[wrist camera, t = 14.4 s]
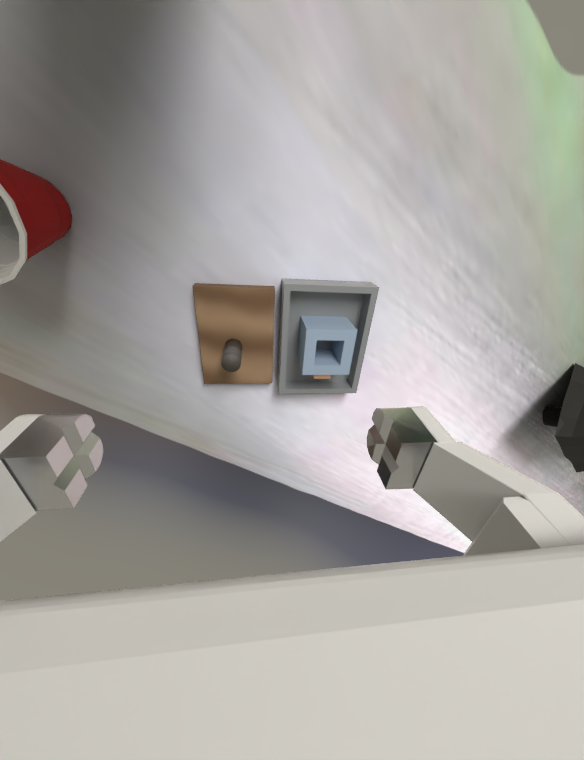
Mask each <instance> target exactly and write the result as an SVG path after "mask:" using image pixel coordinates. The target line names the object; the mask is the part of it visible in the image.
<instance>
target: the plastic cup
mask: <svg viewBox="0 0 584 760" xmlns="http://www.w3.org/2000/svg"><path fill="white" fill-rule="evenodd" d="M71 219H72V215H71V212H70V208H69V205H68V203H67V201H66V200H65V198H64V197H63V195H62V194H61V192H60V191H59V190H57V189H56V188H55V187H54V186H53V185H52V184H51V183H50V182H48V181H47V180H45V179H43V178H41V177H39V176H37V175H35V174H33V173H30V172H28V171H25V170H23V169H21V168H19V167H17V166H15V165H13V164H11V163H8V162H6V161H3V160H0V285H1V284H3V283H6V282H8V281H11V280H13V279H14V278H15V277H16V276H17V274H18V273H19V271H20V270H21V268H22V266H23V265H24V263H25V262H26V261H27V260H28V258H30V257H32V256H33V255H35V254H37V253H38V252H40V251H42V250H43V249H45V248H47V247H48V246H50V245H52V244H53V243H54V241H56V240H58V239H60V238H62V237H64V235H65V234H66V232H67V231H68V230H69V228H70V227H71Z"/></svg>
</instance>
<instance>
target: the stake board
mask: <svg viewBox="0 0 584 760" xmlns="http://www.w3.org/2000/svg"><path fill="white" fill-rule="evenodd" d="M193 292H194V300H195V309H196V317H197V326H198V334H199V343H200V351H201V360H202V368H203V377H204V384H217V383H272V371H273V337H274V304H275V287H274V286H253V285H226V284H199V283H195V284H194V285H193Z"/></svg>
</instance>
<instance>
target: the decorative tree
mask: <svg viewBox="0 0 584 760" xmlns="http://www.w3.org/2000/svg"><path fill="white" fill-rule="evenodd" d="M543 423H544V424H545V425H550V426H556V427H557V430H556V435H555V437H556V439H557V441H558V442H559V444H560V446H561V449H562V451H563V454H564V456H565V457H566V458H567V459H568V460H570V461H571V463H572V464H573V466H574V468H575V470H576V472H581V471H584V367H582V366H580V365H578V364H576V363H575V366H574V369H573V373H572V376H571V380H570V383H569V386H568V389H567V392H566V395H565V398H564V402H563V406H562V408H558V407H548V406H547V407H545V409H544V411H543Z"/></svg>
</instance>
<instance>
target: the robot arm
mask: <svg viewBox="0 0 584 760" xmlns="http://www.w3.org/2000/svg"><path fill="white" fill-rule="evenodd" d="M372 420H373V422H374V424H375V425H373V426H372V427H371V428H370V429H369V431H368V435H367V448H368V452H369V455H370V457H371V459H372V460H373V461H374V462H376V463H377V464H379V466H378V469H377V472H378V474H379V476H380V478H381V480H382V482H383V485H384V487H385V489H411V488H414V489H413V490H414V491H415V492H416V493H417V494H418V495H420V496H421V497H422V498H423V499H424V500H425V501H426V502H428V503H429V504H430V505H431V506H432V507H433V508H434V509H436V510H437V511H438V512H439V513H440V514H441V515H442V516H444V517H445V518H446V519H447V520H448V521H449V522H450V523H452V524H453V525H454V526H455V527H456V528H457V529H458V530H460V531H461V532H462V533H463V534H464V535H465V536H466V537H468V538H469V539H470V540H471V541H472V543H471V545H470V546H469V547H468V549H467V550H466V552H465V553H464V556H458V557H447V558H437V559H427V560H416V561H406V562H396V563H386V564H375V565H365V566H354V567H345V568H333V569H323V570H313V571H303V572H292V573H282V574H271V575H261V576H251V577H240V578H231V579H220V580H210V581H199V582H189V583H179V584H168V585H158V586H148V587H138V588H128V589H117V590H107V591H97V592H86V593H76V594H67V595H55V596H45V597H35V598H24V599H14V600H4V601H0V760H584V517H583V516H582V515H581V514H580V513H579V512H578V511H577V510H576V509H575V508H574V507H573V506H571V505H570V504H569V503H568V502H567V501H566V500H565V499H564V498H563V497H562V496H561V495H560V494H559V493H557V492H555V491H554V490H552V489H550V488H548V487H546V486H544V485H542V484H540V483H538V482H536V481H535V480H533V479H531V478H529V477H527V476H525V475H523V474H521V473H519V472H517V471H516V470H514V469H512V468H510V467H508V466H506V465H504V464H502V463H500V462H498V461H497V460H495V459H493V458H491V457H489V456H487V455H485V454H483V453H481V452H479V451H478V450H476V449H474V448H472V447H470V446H468V445H466V444H464V443H462V442H456V441H455V440H454V439H453V438H452V437H451V436H450V434H449V433H448V432H447V431H446V430H445V429H444V428H443V426H442V425H441V424H440V423H439V422H438V421H437V420H436V418H435V417H434V416H433V415H432V414H431V413H430V411H429V410H428V409H427V408H425V407H423V406H421V407H407V408H376V409H375V411H374V412H373V416H372ZM94 427H95V424H94V422H93V420H92V418H91V416H89V415H86V414H24V415H21V416H18V417H16V418H15V419H14V420H13V421H11V422H10V423H9V424H8V425H7V426H6V427H4V428H3V429H2V430H1V431H0V542H1V541H2V540H3V539H4V538H6V537H7V536H8V535H9V534H10V533H12V532H13V531H14V530H15V529H17V528H18V527H19V526H21V525H22V524H23V523H24V522H26V521H27V520H28V519H29V518H31V517H32V516H33V515H34V514H36V511H43V510H56V509H67V508H74V507H75V505H76V504H77V502H78V501H79V499H80V497H81V496H82V494H83V492H84V491H85V489H86V487H87V482H86V478H87V477H89V476H91V475H92V474H93V473H95V472H96V470H97V469H98V467H99V465H100V463H101V460H102V456H103V445H102V442H101V439H100V438H99V437H98V436H96V435H95V434H94V433H92V430H93V429H94Z"/></svg>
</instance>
